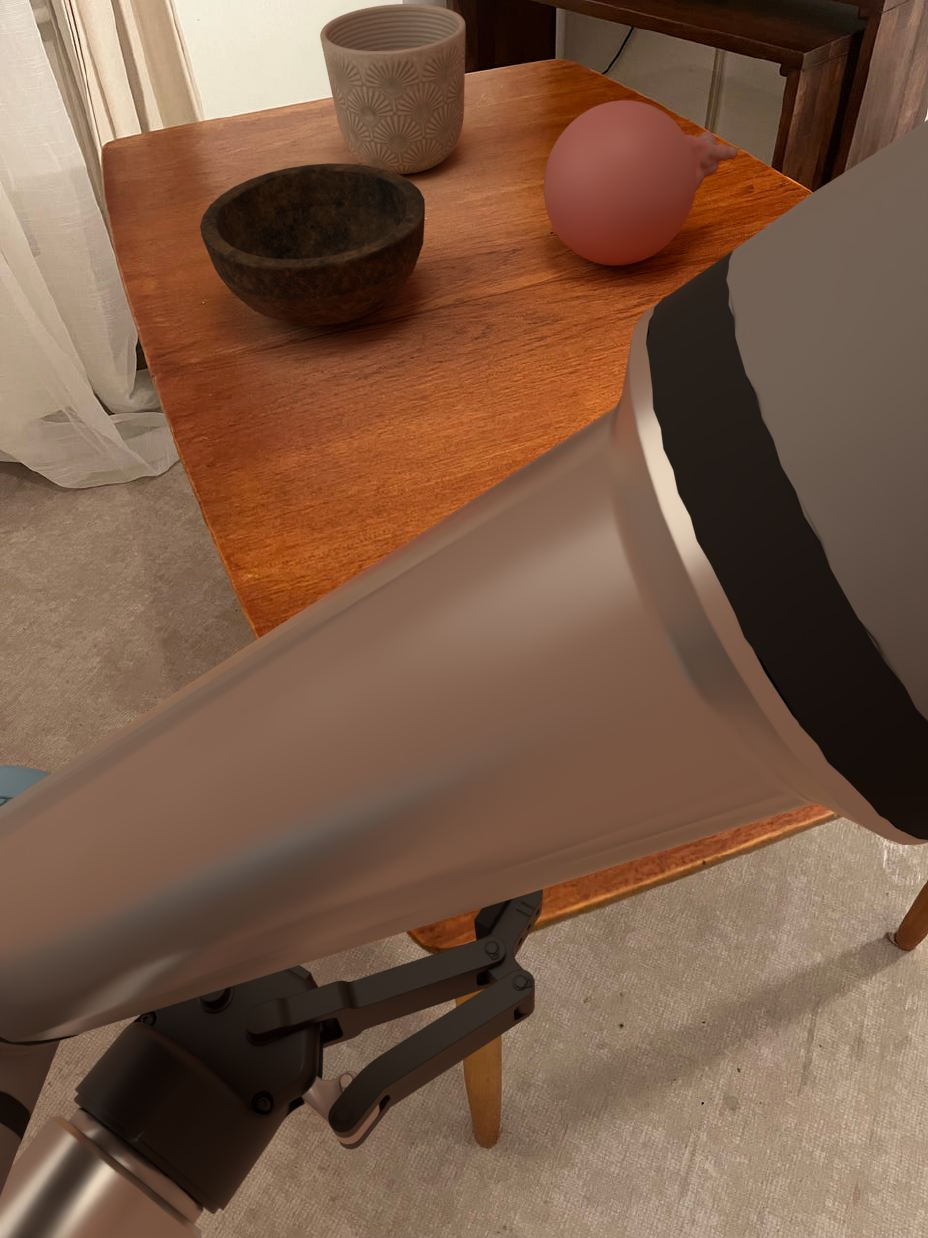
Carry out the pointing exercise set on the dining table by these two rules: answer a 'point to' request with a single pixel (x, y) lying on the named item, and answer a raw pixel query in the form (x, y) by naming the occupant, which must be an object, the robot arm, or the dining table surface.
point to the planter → (397, 83)
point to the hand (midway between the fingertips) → (435, 766)
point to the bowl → (316, 241)
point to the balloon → (625, 181)
